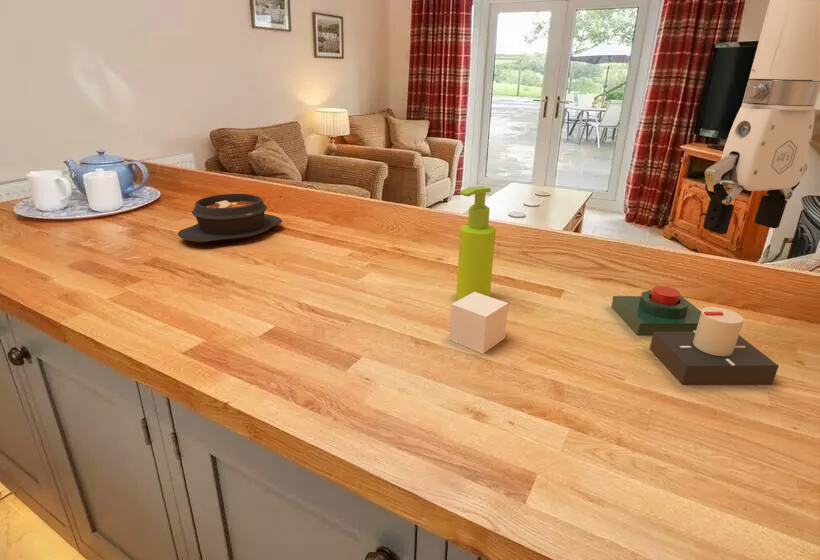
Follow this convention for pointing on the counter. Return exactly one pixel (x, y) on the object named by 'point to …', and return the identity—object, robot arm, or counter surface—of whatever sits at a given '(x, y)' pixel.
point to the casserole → (229, 218)
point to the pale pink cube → (478, 321)
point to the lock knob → (717, 331)
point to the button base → (655, 314)
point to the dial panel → (712, 362)
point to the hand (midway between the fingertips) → (740, 228)
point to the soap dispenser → (476, 247)
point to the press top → (665, 295)
